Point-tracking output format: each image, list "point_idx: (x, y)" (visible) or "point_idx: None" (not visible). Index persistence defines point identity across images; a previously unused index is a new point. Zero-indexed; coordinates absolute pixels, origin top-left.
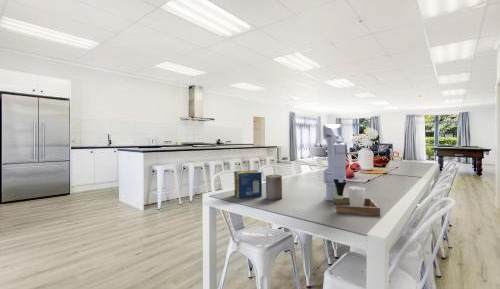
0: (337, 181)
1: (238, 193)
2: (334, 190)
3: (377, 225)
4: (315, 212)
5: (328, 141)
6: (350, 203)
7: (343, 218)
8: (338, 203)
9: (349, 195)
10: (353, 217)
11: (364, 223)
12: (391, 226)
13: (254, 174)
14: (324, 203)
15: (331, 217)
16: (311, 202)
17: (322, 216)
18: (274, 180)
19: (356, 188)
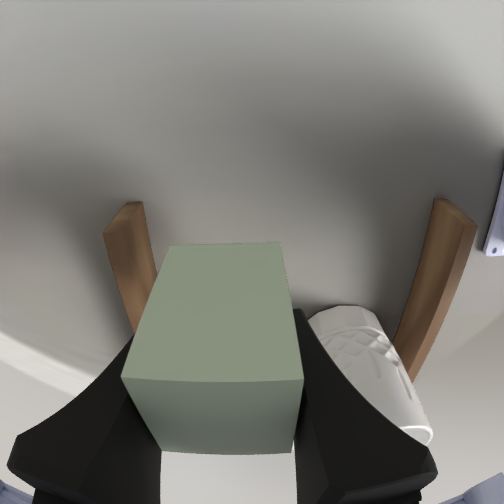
0: (51, 492)
1: None
2: (139, 323)
3: (37, 356)
4: (88, 35)
5: None
6: (335, 326)
7: (35, 243)
8: (427, 235)
9: (355, 373)
10: (81, 297)
11: (26, 323)
12: (57, 387)
13: None
14: (434, 117)
15: (18, 173)
16: (447, 6)
17: (14, 112)
18: None
19: (416, 436)
